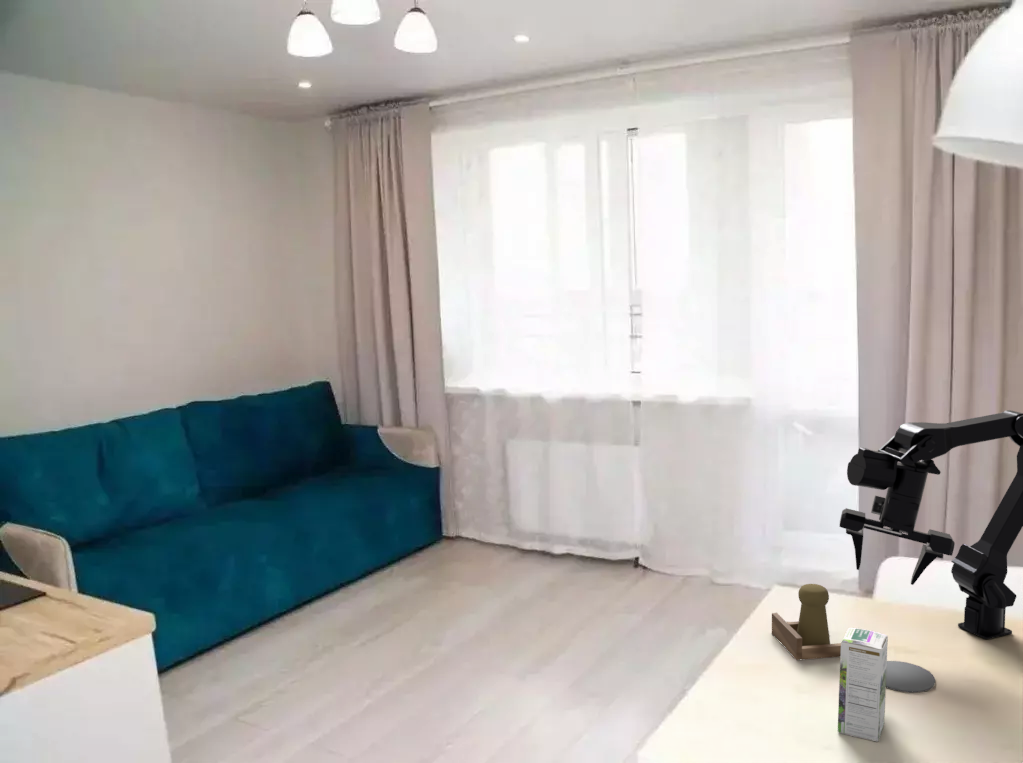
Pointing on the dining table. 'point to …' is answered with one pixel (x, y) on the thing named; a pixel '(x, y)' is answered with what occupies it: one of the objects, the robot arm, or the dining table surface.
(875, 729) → the syrup box
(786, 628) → the holder
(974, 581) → the robot arm
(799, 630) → the cork
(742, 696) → the dining table surface
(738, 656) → the dining table surface
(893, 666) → the coaster
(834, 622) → the dining table surface
